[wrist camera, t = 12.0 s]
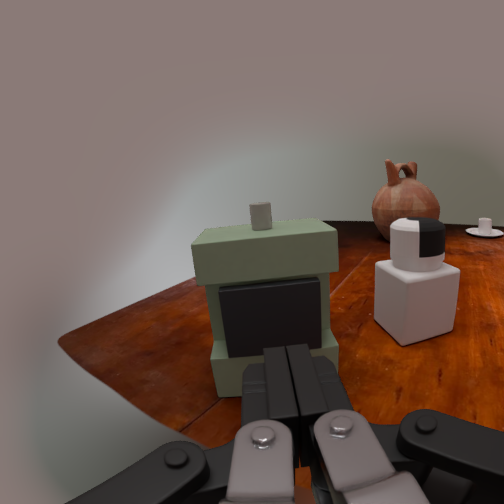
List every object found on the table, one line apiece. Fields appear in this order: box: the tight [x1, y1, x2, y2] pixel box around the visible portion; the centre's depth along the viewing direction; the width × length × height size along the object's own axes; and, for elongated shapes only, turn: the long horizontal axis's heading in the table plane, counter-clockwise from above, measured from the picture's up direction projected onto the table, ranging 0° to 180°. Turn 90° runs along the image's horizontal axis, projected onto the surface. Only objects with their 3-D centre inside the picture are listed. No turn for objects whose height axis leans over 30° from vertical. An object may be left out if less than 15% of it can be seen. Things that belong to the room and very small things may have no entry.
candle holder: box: [466, 218, 503, 237], centre depth 67 cm, size 12×12×4 cm
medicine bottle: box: [374, 217, 460, 346], centre depth 29 cm, size 7×7×12 cm
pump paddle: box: [218, 277, 322, 358], centre depth 22 cm, size 7×1×5 cm, turn 91°
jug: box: [372, 159, 440, 241], centre depth 70 cm, size 18×18×20 cm
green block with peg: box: [191, 202, 339, 397], centre depth 25 cm, size 10×7×15 cm
